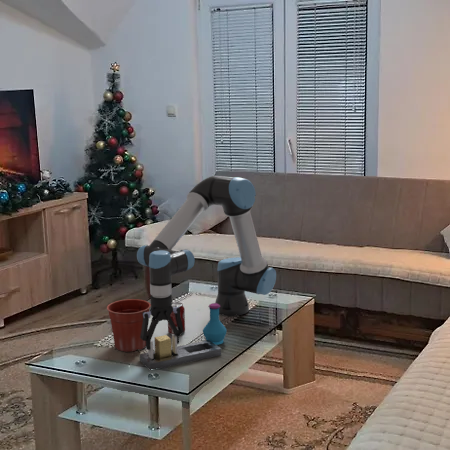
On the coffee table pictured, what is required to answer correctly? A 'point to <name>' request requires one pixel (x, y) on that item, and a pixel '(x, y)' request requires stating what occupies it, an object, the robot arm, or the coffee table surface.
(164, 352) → the yellow wooden block
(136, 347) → the flower pot
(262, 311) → the coffee table surface
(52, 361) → the coffee table surface
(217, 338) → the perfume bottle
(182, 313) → the soda can
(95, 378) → the coffee table surface
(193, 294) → the coffee table surface
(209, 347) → the grey slotted tray
